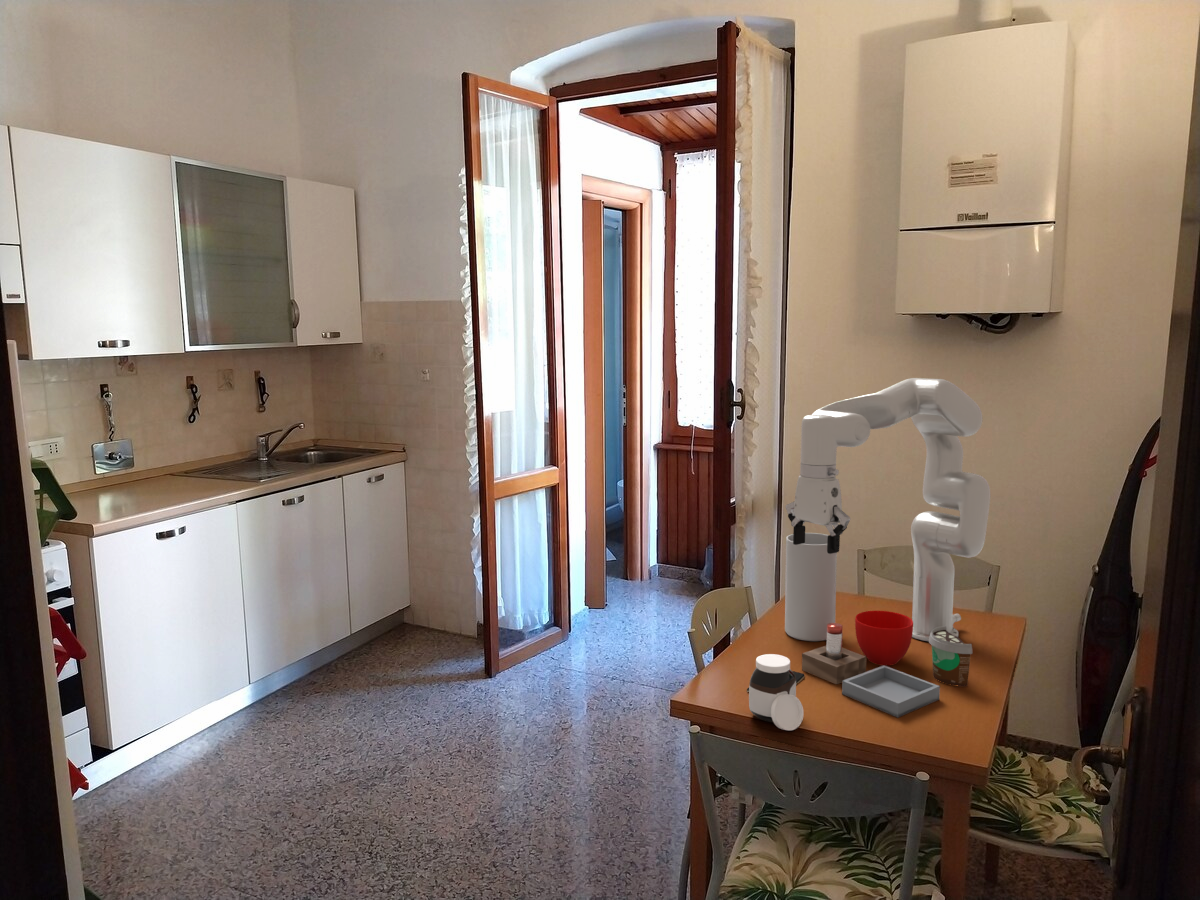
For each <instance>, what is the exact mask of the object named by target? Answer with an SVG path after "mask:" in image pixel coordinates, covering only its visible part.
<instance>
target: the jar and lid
mask: <svg viewBox="0 0 1200 900" xmlns="http://www.w3.org/2000/svg"><path fill="white" fill-rule="evenodd" d="M793 671H794V670H792V669H791V660H790V658H788V657H787V656H784V655H781V654H776V653H775V654H774V653H767V654H766V653H765V654H762V655H759V656H757V657H756V659H755V669H754V670H753V672H752V674H751V676H750V679H749V684H748V685H749V686H748V688H749V693H748V707H749V710H750V712H751V714H752V715H753V716H755V717H756V718H757V719H759V720H761V721H763V722H766V723H767V722H768V723H773V724H774V725H775V726H776V727H777V728H778V729H781V730H783V731H794V730H796V729H798V728H799V727H800V725H801V724H802V722H803V719H804V707H803V704H802V702H801V700H800V699H799V697H797V684H796V678H795V675H794V673H793Z"/></svg>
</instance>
